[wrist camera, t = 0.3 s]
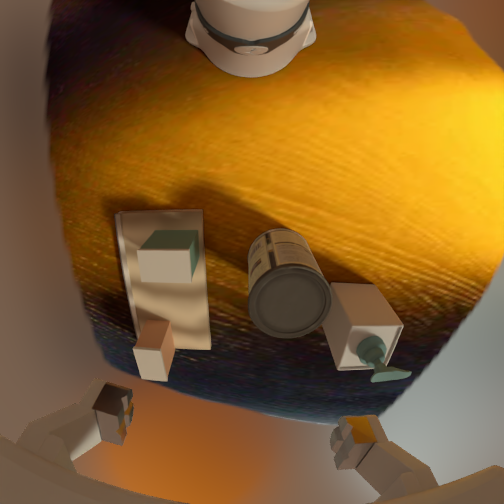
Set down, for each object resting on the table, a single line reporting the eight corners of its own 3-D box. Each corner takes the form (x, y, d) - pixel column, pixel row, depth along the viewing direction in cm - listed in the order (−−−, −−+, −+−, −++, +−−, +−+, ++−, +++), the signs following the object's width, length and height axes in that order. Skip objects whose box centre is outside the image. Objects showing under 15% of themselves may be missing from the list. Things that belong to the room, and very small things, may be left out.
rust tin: (170, 320, 52) (159, 351, 44) (175, 350, 54) (167, 381, 47) (145, 319, 52) (132, 348, 44) (152, 348, 54) (141, 378, 46)
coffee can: (305, 288, 51) (322, 340, 38) (244, 283, 51) (243, 336, 38) (316, 231, 47) (341, 270, 34) (251, 224, 47) (252, 262, 34)
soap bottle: (363, 323, 54) (400, 395, 37) (320, 322, 54) (346, 401, 36) (375, 283, 51) (423, 351, 33) (330, 281, 51) (365, 355, 33)
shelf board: (118, 211, 45) (113, 214, 44) (202, 209, 46) (201, 212, 44) (141, 340, 55) (138, 346, 54) (211, 344, 56) (210, 350, 54)
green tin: (154, 229, 45) (136, 250, 37) (198, 229, 45) (188, 250, 38) (157, 257, 47) (141, 282, 39) (200, 258, 47) (191, 283, 39)
